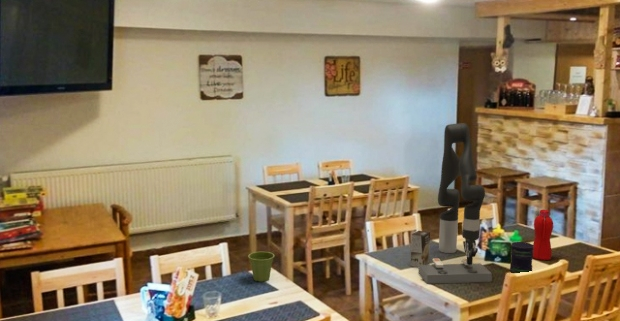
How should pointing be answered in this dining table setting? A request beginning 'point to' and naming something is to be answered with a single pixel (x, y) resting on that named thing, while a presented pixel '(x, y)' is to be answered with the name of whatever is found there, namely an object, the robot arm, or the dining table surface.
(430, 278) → the switch panel
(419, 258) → the coffee box
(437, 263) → the rocker off
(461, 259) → the rocker on
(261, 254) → the plant pot
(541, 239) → the water bottle
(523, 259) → the storage jar
